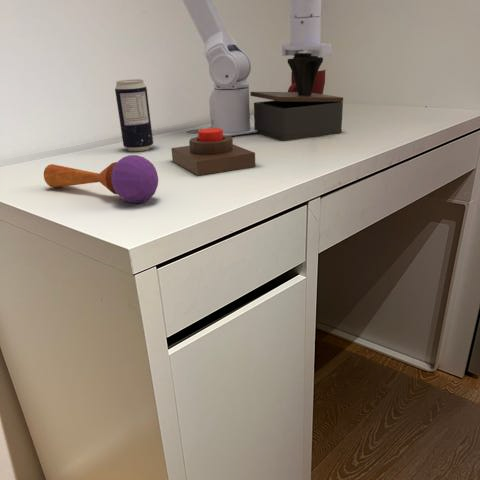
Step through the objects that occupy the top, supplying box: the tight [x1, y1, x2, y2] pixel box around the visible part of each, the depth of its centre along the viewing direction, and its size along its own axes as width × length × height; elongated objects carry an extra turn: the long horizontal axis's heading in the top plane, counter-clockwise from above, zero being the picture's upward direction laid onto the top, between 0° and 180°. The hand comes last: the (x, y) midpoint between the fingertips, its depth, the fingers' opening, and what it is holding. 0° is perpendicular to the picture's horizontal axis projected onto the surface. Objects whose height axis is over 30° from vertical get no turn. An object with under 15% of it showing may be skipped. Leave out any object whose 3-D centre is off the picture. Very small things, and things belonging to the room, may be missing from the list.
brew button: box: [197, 127, 223, 142], centre depth 82 cm, size 4×4×2 cm
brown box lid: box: [249, 91, 344, 103], centre depth 103 cm, size 14×13×1 cm
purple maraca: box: [43, 154, 159, 204], centre depth 70 cm, size 6×6×20 cm
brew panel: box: [170, 135, 256, 176], centre depth 84 cm, size 12×10×4 cm
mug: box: [287, 68, 326, 95], centre depth 123 cm, size 11×8×10 cm
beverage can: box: [114, 78, 154, 152], centre depth 95 cm, size 6×6×12 cm
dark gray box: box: [253, 100, 344, 142], centre depth 105 cm, size 14×13×6 cm
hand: (304, 96), depth 102 cm, fingers closed, pressing on brown box lid
